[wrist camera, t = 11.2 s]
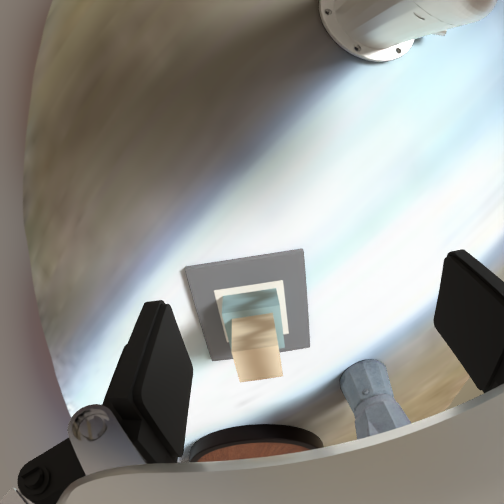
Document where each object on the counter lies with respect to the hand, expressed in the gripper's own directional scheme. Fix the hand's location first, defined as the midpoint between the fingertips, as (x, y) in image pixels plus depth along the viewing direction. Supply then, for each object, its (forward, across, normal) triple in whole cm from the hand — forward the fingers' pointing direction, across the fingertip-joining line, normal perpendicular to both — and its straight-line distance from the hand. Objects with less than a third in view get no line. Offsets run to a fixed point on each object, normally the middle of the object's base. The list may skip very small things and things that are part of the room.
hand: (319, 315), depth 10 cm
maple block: (+23, +4, +19) cm, 30 cm away
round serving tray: (+28, +10, +63) cm, 70 cm away
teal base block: (+27, +4, +19) cm, 33 cm away
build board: (+28, +4, +19) cm, 34 cm away
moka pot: (+28, -14, +38) cm, 49 cm away
